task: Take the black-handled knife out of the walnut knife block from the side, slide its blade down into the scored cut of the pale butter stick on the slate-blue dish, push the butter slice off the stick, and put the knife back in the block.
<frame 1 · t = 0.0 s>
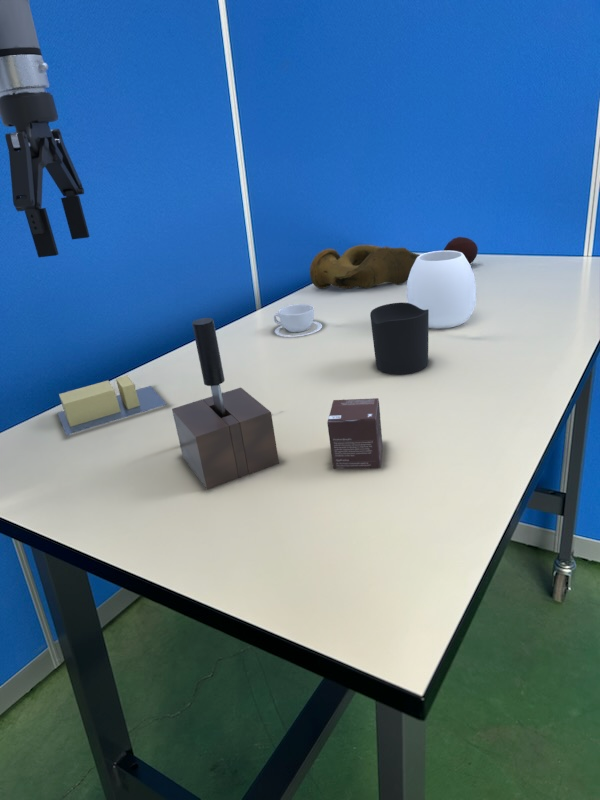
hand: (65, 246, 96), 27 cm above the table, tool pointing down, fingers open, 13 cm apart
knife block: (230, 463, 83), on the table
box: (358, 460, 80), on the table
butter slice: (130, 402, 103), point 1 cm above the table, touching butter dish
butter stick: (93, 414, 101), point 1 cm above the table, touching butter dish
butter dish: (112, 413, 103), on the table
pen holder: (402, 368, 106), on the table
brown looped sculpture: (367, 288, 154), on the table
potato: (459, 267, 161), on the table
teacup: (298, 331, 130), on the table
knife: (217, 396, 79), in the knife block
white vase: (441, 324, 124), on the table
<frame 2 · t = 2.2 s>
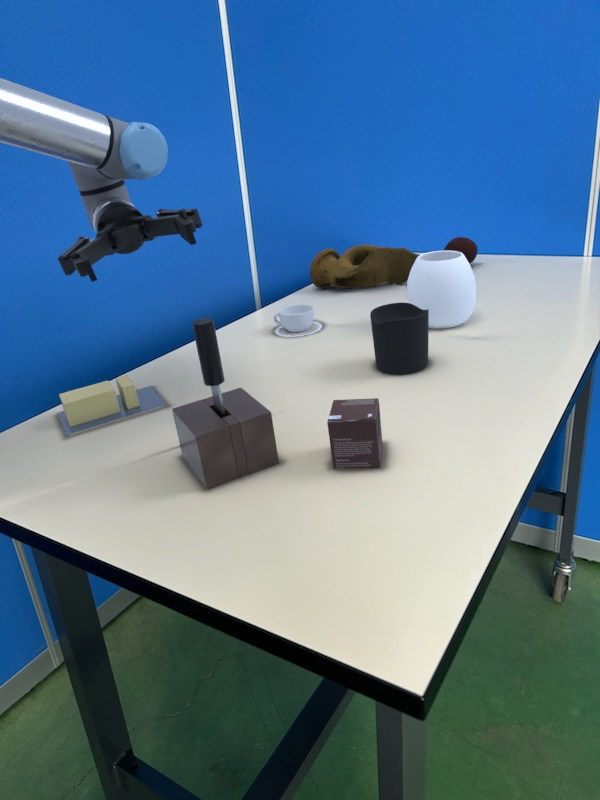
hand: (141, 252, 80), 27 cm above the table, tool horizontal, fingers open, 13 cm apart
nothing on the table moved.
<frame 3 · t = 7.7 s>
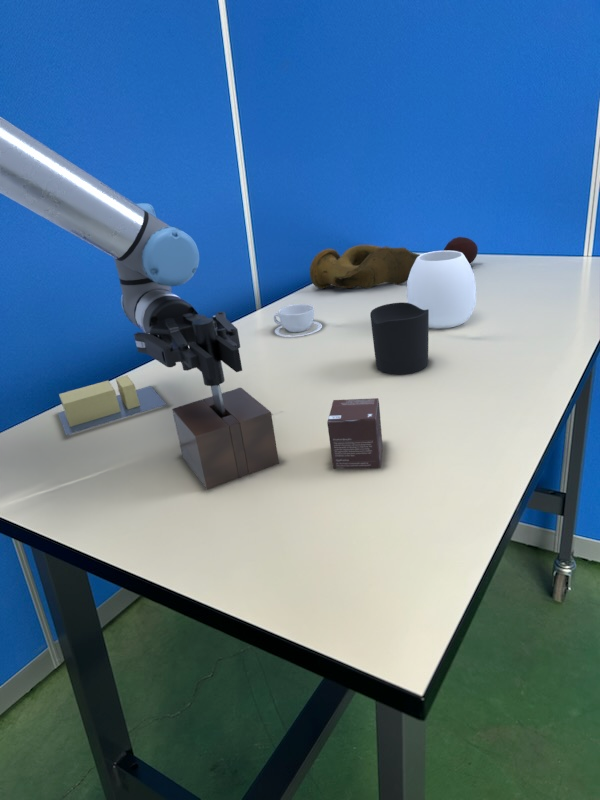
hand: (224, 364, 72), 16 cm above the table, tool horizontal, fingers closed on knife, 3 cm apart
knife: (217, 396, 79), in the knife block, touching gripper
everything else where it was.
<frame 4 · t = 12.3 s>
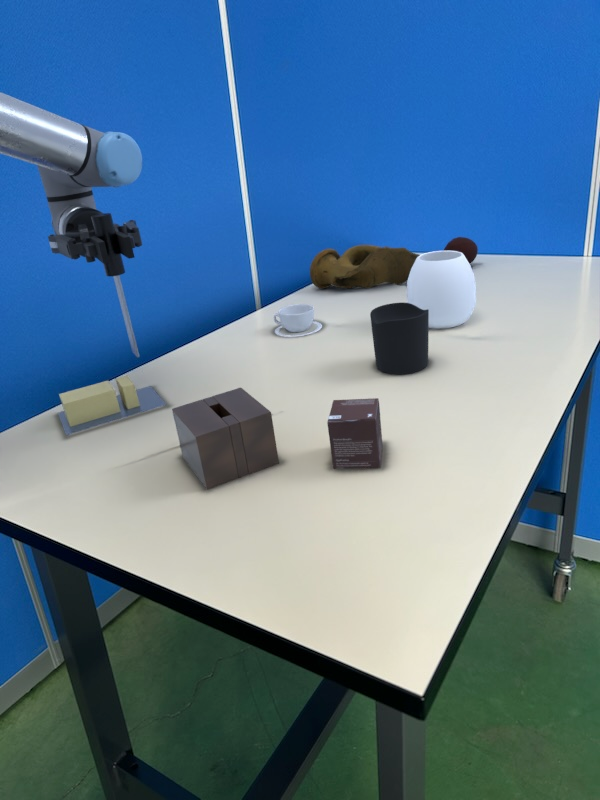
hand: (116, 250, 80), 28 cm above the table, tool horizontal, fingers closed on knife, 3 cm apart
knife: (119, 288, 87), point 22 cm above the table, touching gripper
everything else where it was.
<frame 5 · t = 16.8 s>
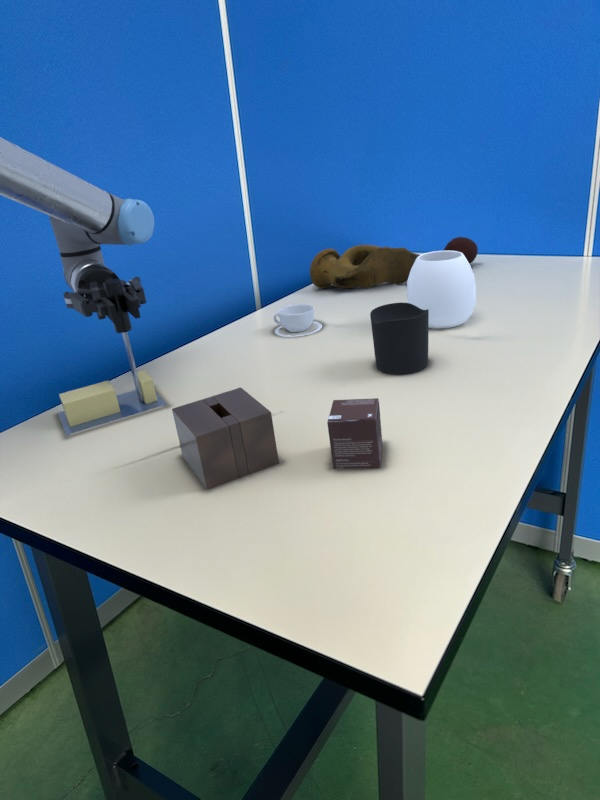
hand: (125, 311, 93), 18 cm above the table, tool horizontal, fingers closed on knife, 3 cm apart
butter slice: (148, 397, 105), point 1 cm above the table, touching butter dish, knife
knife: (126, 342, 100), point 11 cm above the table, touching butter slice, gripper
everything else where it was.
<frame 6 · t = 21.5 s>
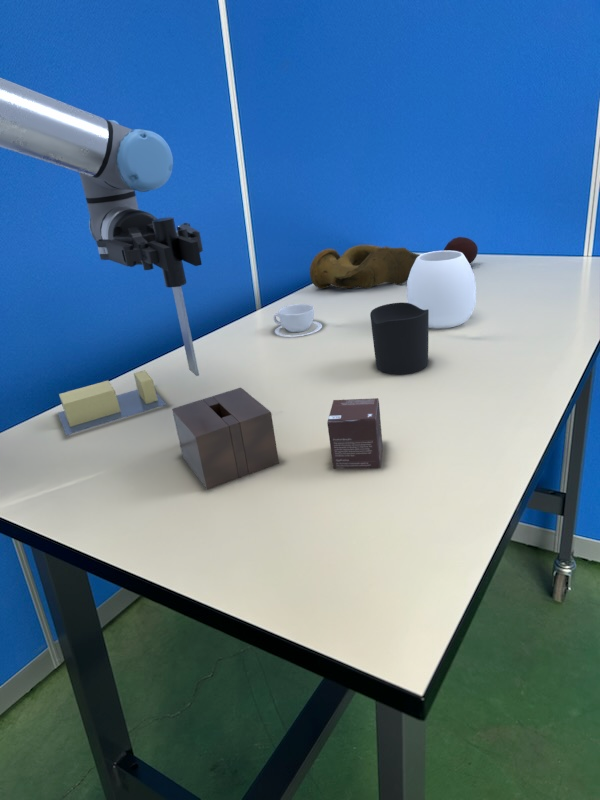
hand: (183, 256, 71), 28 cm above the table, tool horizontal, fingers closed on knife, 3 cm apart
butter slice: (148, 397, 105), point 1 cm above the table, touching butter dish
knife: (179, 300, 79), point 22 cm above the table, touching gripper
everything else where it was.
when the fingers open (16 cm above the table, at t = 25.6 s): knife stays where it is, resting in knife block.
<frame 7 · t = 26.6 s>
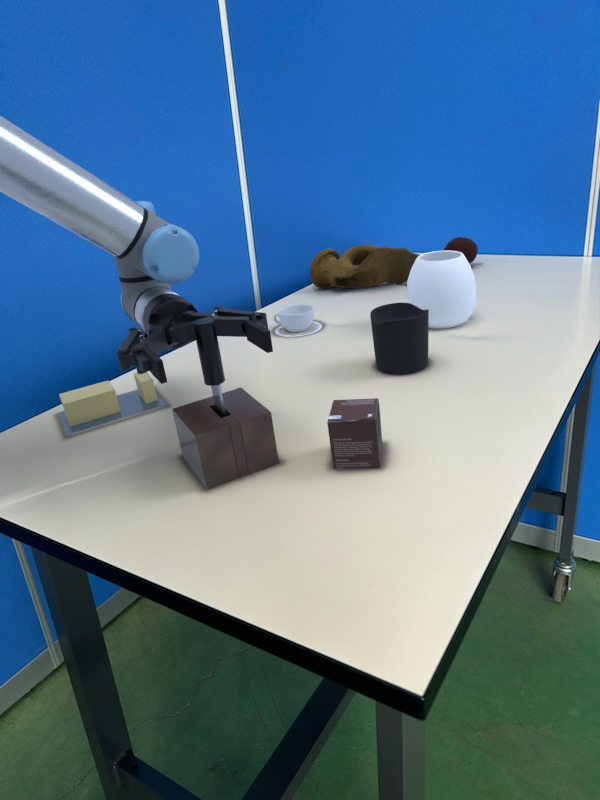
hand: (217, 356, 74), 16 cm above the table, tool horizontal, fingers open, 13 cm apart
knife: (217, 395, 79), in the knife block
everything else where it was.
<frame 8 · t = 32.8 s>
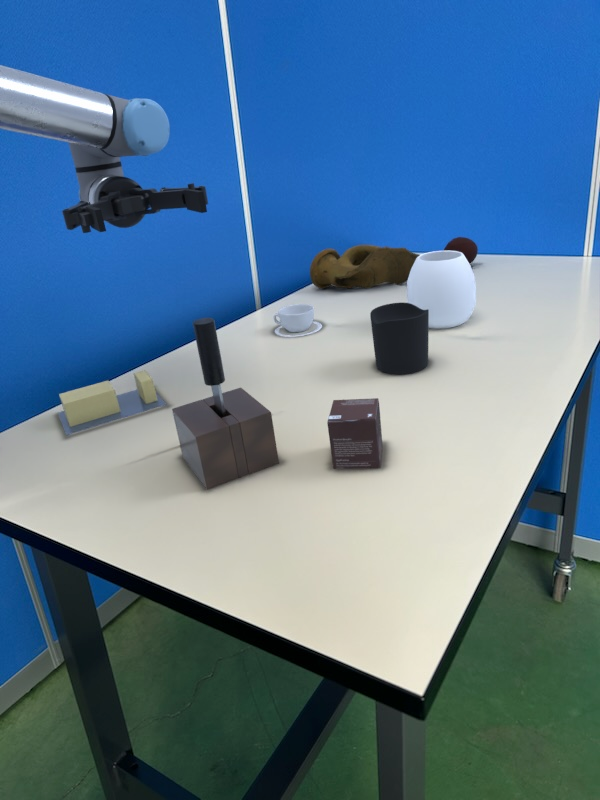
hand: (153, 211, 80), 32 cm above the table, tool horizontal, fingers open, 13 cm apart
nothing on the table moved.
at the end: butter slice moved 3.0 cm from its start; butter slice inside the target area on the butter dish (6.2 cm from its centre), point 1.0 cm above the butter dish's base; knife 0.1 cm off-centre on the knife block, point 10.0 cm above the knife block's base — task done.
